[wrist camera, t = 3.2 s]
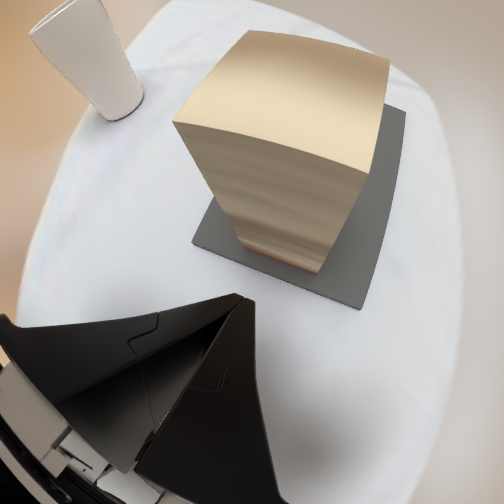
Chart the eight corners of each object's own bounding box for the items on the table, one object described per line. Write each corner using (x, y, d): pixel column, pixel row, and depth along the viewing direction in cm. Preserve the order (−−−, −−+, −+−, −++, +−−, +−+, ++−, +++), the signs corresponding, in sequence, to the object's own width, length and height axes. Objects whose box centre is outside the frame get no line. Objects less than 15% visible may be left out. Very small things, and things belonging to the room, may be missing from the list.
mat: (359, 309, 16) (361, 309, 16) (193, 244, 19) (191, 242, 18) (404, 115, 20) (405, 112, 19) (283, 78, 22) (283, 74, 22)
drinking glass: (162, 84, 24) (108, -21, 10) (127, 130, 23) (47, 22, 9) (122, 84, 26) (67, -1, 11) (89, 126, 25) (17, 42, 10)
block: (316, 275, 17) (369, 173, 5) (243, 247, 18) (171, 120, 6) (340, 206, 18) (390, 60, 6) (272, 183, 19) (248, 30, 7)
